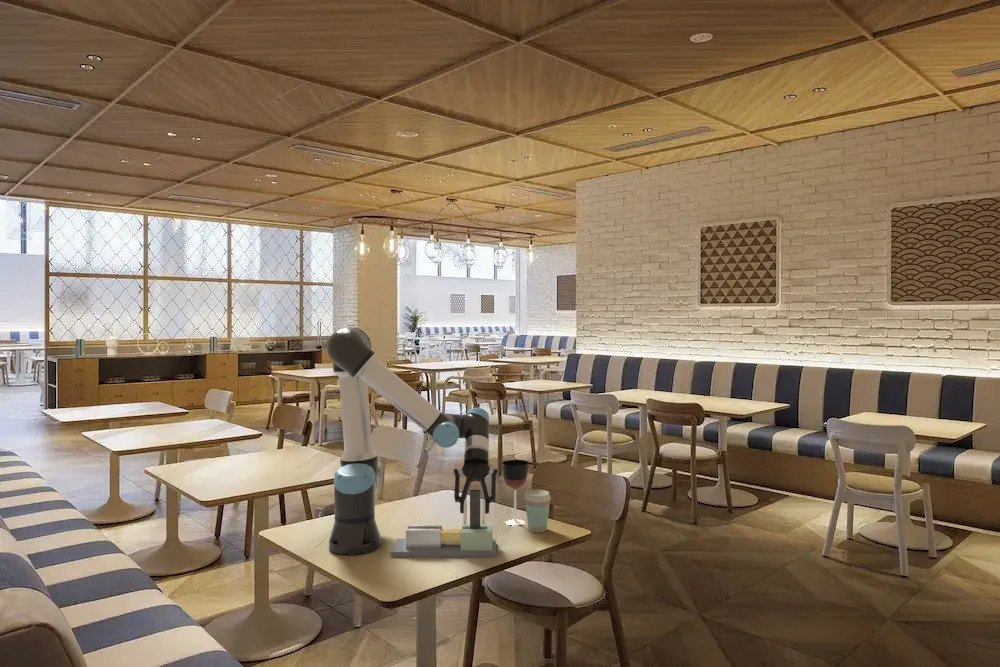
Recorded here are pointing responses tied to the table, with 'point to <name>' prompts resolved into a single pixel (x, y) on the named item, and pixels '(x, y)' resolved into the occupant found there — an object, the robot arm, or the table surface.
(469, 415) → the robot arm
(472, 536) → the socket block
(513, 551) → the table surface
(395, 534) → the table surface
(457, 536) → the sliding bolt with handle
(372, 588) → the table surface
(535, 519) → the coffee cup
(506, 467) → the wineglass
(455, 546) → the base board
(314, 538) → the table surface
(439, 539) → the steel sleeve
